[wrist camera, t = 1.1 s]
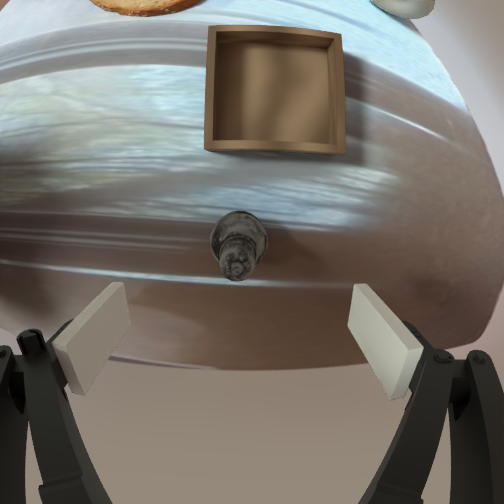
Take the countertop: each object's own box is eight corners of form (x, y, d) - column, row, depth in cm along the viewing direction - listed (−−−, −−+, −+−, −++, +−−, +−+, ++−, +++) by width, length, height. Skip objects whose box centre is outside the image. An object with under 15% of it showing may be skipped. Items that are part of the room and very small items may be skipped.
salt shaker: (276, 233, 32) (294, 270, 21) (240, 269, 33) (238, 322, 22) (238, 197, 31) (234, 214, 19) (202, 235, 32) (179, 273, 21)
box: (209, 151, 29) (204, 149, 26) (212, 40, 26) (208, 25, 22) (333, 155, 30) (345, 153, 26) (331, 47, 26) (341, 33, 22)
